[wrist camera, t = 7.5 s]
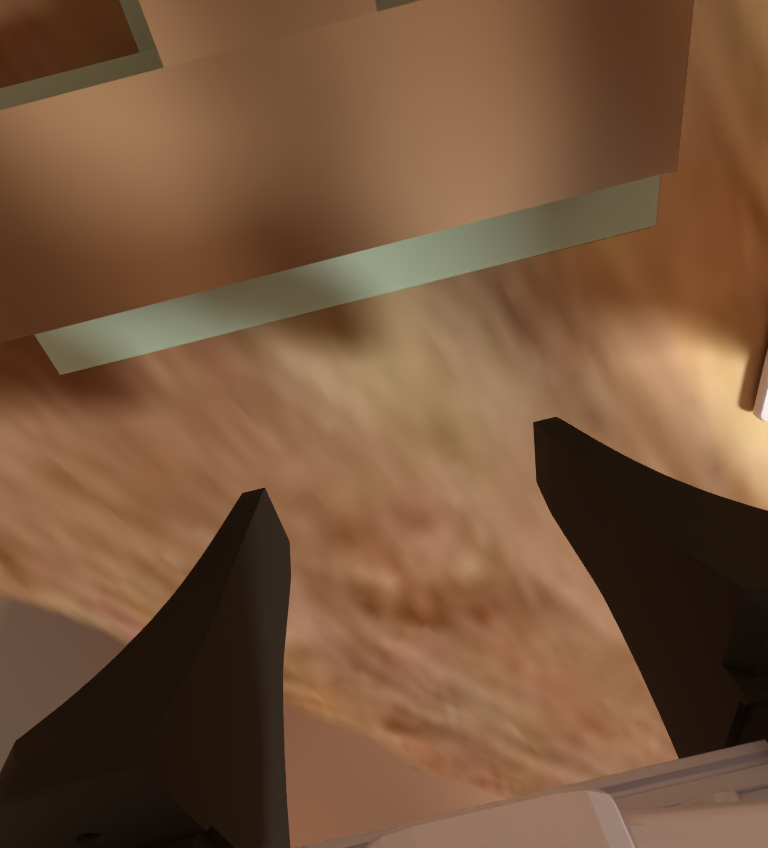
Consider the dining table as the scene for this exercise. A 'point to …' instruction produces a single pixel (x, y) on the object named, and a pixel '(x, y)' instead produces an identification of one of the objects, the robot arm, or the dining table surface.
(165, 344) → the t mat
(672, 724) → the robot arm
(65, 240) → the t block
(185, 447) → the dining table surface
